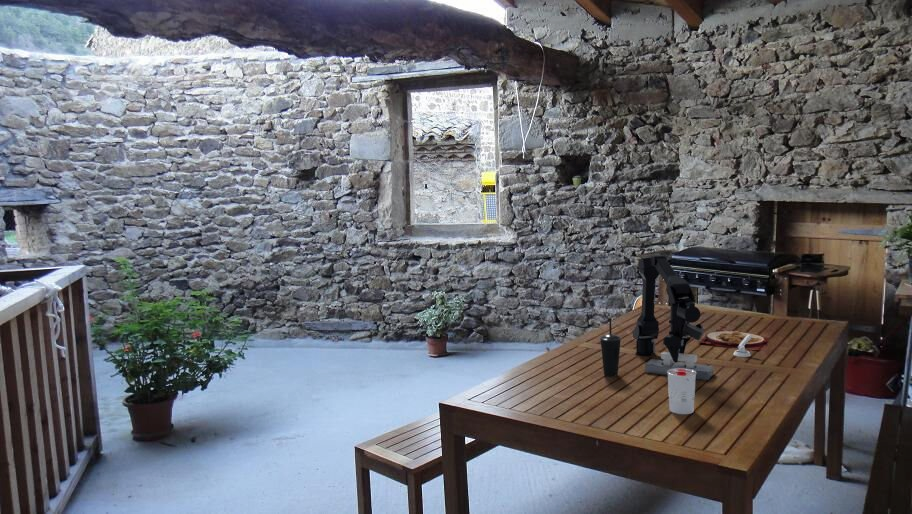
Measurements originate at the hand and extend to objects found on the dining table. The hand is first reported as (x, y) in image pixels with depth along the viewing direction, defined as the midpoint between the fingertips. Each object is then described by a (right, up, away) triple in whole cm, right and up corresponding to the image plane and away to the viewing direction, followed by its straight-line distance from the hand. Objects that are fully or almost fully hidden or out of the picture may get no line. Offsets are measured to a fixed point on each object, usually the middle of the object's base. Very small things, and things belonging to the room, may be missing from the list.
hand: (678, 359), depth 240 cm
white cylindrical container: (-12, -10, -38) cm, 41 cm away
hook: (+32, -2, +22) cm, 39 cm away
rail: (0, -5, 0) cm, 5 cm away
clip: (0, -5, +1) cm, 5 cm away
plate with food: (+40, 0, +45) cm, 60 cm away
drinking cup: (-24, -6, +2) cm, 25 cm away
